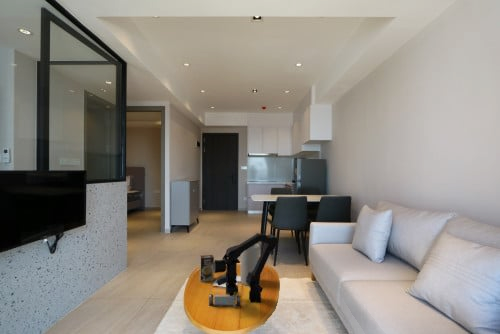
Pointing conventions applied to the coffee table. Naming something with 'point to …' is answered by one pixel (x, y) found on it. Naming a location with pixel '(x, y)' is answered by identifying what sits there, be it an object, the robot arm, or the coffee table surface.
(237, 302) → the dark grey long piece
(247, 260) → the cylinder vase
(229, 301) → the grey block
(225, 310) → the coffee table surface
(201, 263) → the coffee box
